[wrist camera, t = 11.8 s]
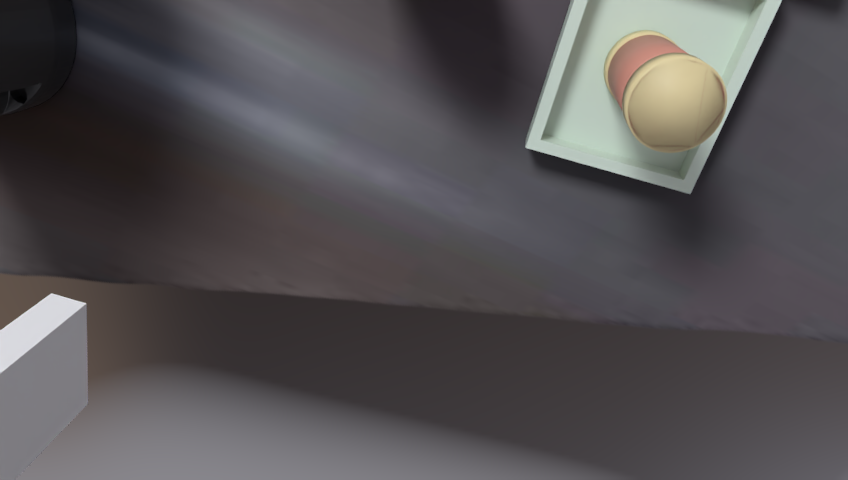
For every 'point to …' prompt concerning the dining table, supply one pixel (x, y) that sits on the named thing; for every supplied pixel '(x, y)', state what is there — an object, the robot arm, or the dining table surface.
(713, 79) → the fuse
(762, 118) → the dining table surface
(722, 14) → the parts tray
